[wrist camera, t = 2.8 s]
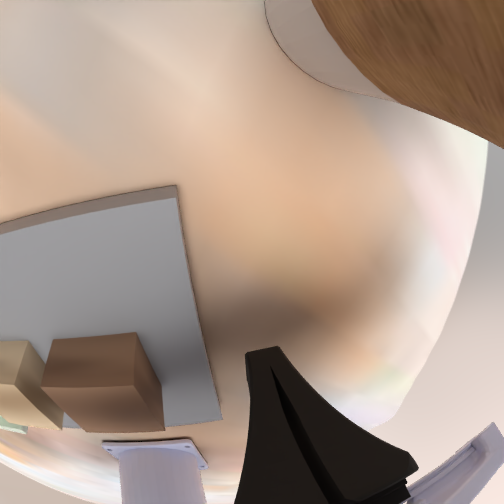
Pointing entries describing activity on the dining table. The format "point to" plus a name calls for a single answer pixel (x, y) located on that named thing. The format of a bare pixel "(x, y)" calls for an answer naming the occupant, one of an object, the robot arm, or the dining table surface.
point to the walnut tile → (105, 383)
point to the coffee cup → (404, 53)
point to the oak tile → (25, 388)
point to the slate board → (111, 289)
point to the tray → (12, 426)
